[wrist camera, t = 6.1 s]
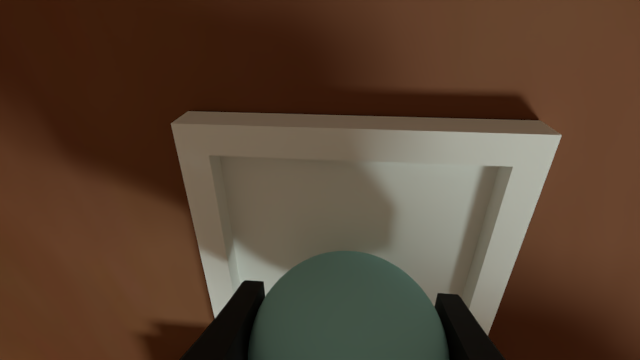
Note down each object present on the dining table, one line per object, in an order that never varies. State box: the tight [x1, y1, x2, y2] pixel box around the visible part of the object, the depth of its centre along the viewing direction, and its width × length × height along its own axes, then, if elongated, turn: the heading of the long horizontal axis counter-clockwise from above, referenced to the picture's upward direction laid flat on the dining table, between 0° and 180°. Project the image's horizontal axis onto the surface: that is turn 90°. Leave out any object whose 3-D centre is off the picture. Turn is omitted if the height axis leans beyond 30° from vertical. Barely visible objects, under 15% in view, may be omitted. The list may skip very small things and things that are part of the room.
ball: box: [248, 251, 450, 360], centre depth 10 cm, size 6×6×6 cm
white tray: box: [171, 111, 562, 336], centre depth 13 cm, size 11×11×1 cm
